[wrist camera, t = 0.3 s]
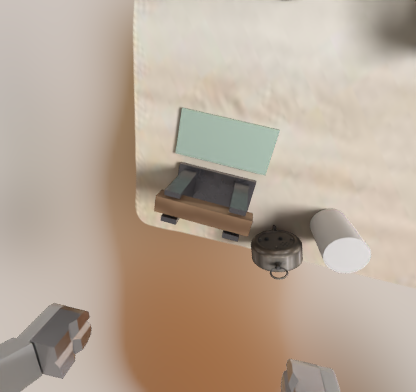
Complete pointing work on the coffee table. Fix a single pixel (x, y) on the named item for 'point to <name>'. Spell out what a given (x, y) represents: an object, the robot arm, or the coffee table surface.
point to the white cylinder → (339, 241)
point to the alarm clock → (277, 251)
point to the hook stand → (211, 191)
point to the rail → (203, 213)
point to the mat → (226, 141)
